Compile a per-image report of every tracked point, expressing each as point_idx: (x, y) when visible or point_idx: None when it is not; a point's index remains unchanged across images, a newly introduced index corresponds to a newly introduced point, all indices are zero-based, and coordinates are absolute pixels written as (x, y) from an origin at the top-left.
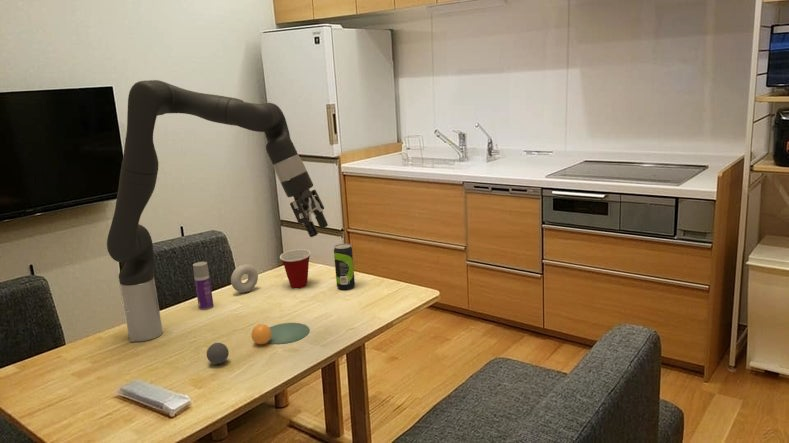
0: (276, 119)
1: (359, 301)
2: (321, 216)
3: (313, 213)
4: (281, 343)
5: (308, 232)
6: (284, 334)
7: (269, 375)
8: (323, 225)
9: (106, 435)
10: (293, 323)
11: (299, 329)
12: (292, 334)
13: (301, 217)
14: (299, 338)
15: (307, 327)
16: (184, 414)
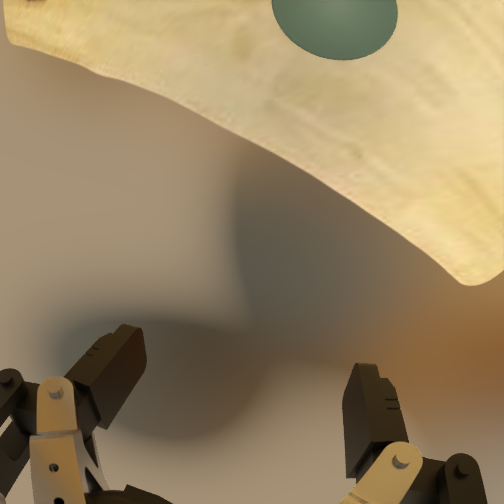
0: None
1: (494, 166)
2: (348, 456)
3: (367, 472)
4: (273, 10)
5: (93, 346)
6: (325, 4)
7: (134, 48)
8: (350, 391)
9: None
10: (393, 16)
11: (355, 35)
12: (325, 23)
13: (40, 427)
14: (302, 44)
15: (368, 52)
16: (33, 6)
